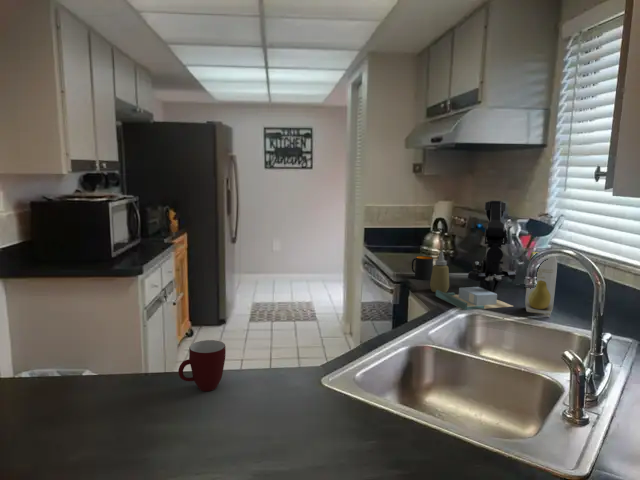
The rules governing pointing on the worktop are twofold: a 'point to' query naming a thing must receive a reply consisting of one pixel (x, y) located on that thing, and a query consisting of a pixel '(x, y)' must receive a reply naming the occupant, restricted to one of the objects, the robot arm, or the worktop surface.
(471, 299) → the carton
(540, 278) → the juice carton
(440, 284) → the squeeze bottle
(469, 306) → the display board
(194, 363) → the mug
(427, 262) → the mug
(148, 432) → the worktop surface
